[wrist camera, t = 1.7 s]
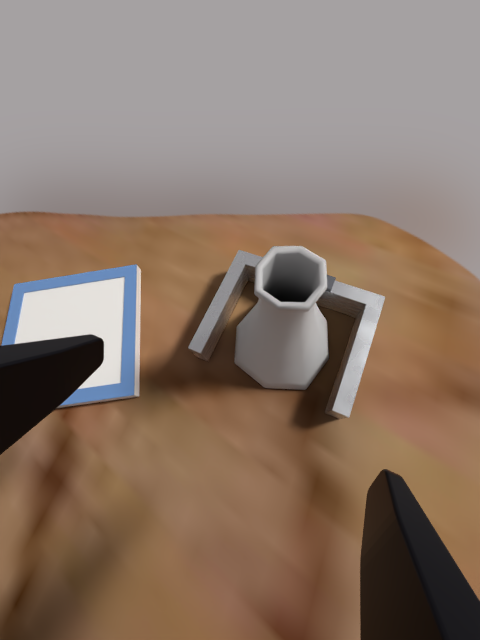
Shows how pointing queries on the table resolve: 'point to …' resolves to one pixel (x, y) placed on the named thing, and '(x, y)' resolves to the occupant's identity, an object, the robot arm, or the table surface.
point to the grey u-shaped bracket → (334, 298)
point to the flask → (285, 321)
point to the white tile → (85, 324)
